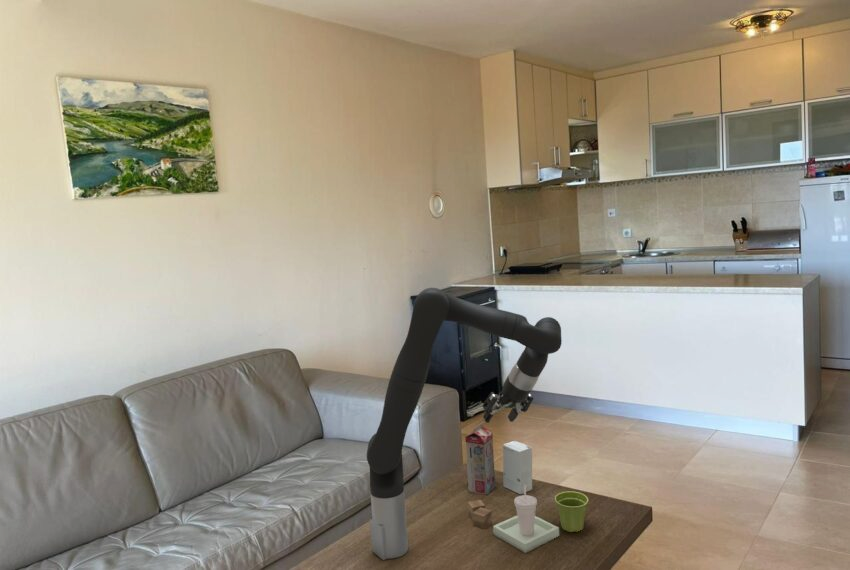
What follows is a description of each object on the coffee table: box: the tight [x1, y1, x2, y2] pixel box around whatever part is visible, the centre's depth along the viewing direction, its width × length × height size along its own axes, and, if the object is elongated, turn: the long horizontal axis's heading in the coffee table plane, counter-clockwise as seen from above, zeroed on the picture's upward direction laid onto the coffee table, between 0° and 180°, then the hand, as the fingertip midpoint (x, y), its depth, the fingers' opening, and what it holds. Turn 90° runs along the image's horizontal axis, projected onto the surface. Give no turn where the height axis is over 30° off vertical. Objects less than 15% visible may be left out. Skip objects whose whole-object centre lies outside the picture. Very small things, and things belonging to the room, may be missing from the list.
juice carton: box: [465, 421, 496, 496], centre depth 208 cm, size 7×7×22 cm
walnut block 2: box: [472, 507, 493, 530], centre depth 186 cm, size 4×4×4 cm
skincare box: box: [502, 440, 533, 495], centre depth 207 cm, size 8×6×15 cm
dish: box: [492, 515, 560, 554], centre depth 178 cm, size 13×13×2 cm
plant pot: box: [554, 490, 589, 533], centre depth 180 cm, size 9×9×9 cm
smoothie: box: [513, 484, 538, 536], centre depth 177 cm, size 6×6×14 cm
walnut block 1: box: [467, 499, 486, 520], centre depth 191 cm, size 4×4×4 cm
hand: (498, 420), depth 182 cm, fingers open, 8 cm apart
